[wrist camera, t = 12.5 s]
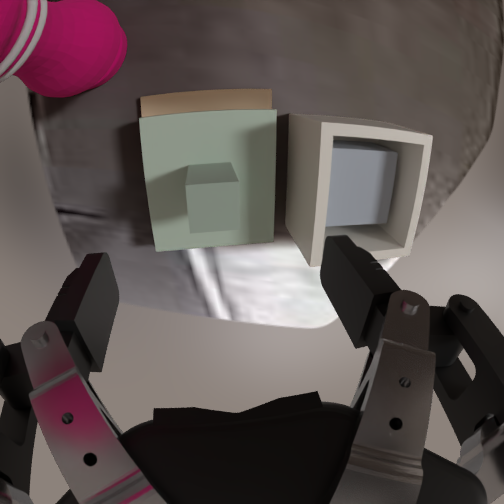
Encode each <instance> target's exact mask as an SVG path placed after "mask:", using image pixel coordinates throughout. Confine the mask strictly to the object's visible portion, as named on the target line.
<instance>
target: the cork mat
mask: <svg viewBox="0 0 504 504" xmlns="http://www.w3.org/2000/svg"><path fill="white" fill-rule="evenodd" d="M229 109H272V89H221V90H202V91H189V92H178V93H168V94H160V95H152V96H145V97H141V114H142V117H147V116H155V115H163V114H172V113H182V112H194V111H208V110H229Z"/></svg>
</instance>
